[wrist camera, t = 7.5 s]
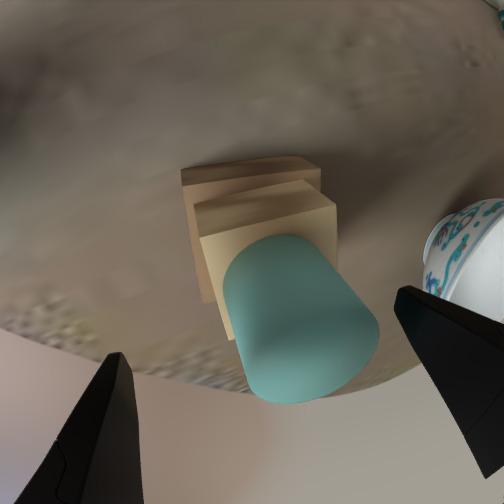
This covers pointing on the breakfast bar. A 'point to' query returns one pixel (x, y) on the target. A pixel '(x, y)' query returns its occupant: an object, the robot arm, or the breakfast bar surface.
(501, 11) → the crushed plastic bottle
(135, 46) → the breakfast bar surface
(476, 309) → the chinaware
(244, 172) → the base block
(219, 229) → the top block
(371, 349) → the teal cylinder
